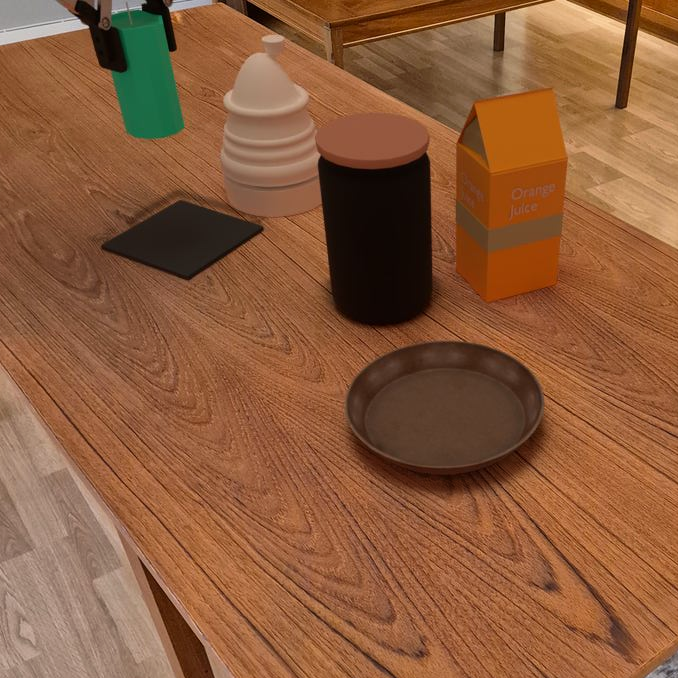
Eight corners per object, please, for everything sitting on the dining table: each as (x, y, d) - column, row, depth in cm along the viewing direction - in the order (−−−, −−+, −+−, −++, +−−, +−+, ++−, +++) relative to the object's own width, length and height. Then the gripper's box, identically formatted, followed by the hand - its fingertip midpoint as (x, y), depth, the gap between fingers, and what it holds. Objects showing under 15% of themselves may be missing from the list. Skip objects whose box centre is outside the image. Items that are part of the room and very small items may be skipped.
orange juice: (557, 284, 98) (574, 101, 84) (486, 303, 95) (492, 116, 81) (522, 252, 103) (533, 73, 89) (454, 269, 100) (454, 86, 86)
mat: (101, 249, 102) (100, 245, 101) (181, 203, 110) (180, 199, 109) (188, 280, 97) (187, 276, 97) (264, 230, 105) (263, 226, 105)
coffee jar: (413, 266, 100) (407, 105, 88) (447, 317, 93) (446, 149, 81) (321, 285, 97) (301, 120, 84) (349, 338, 90) (332, 167, 77)
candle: (156, 144, 90) (126, 16, 82) (113, 130, 92) (79, 4, 84) (197, 123, 94) (172, -1, 86) (154, 111, 96) (126, -11, 88)
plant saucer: (343, 495, 74) (339, 468, 72) (350, 367, 87) (347, 341, 84) (553, 488, 75) (556, 461, 73) (530, 362, 88) (532, 337, 86)
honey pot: (304, 161, 119) (286, 16, 106) (347, 201, 111) (333, 49, 99) (212, 183, 114) (181, 33, 101) (250, 226, 106) (222, 69, 93)
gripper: (130, -180, 82) (172, 28, 95) (-29, -153, 72) (43, 78, 84) (191, -171, 80) (227, 41, 92) (37, -142, 69) (100, 95, 82)
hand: (139, 57), depth 88 cm, fingers closed on candle, 6 cm apart
